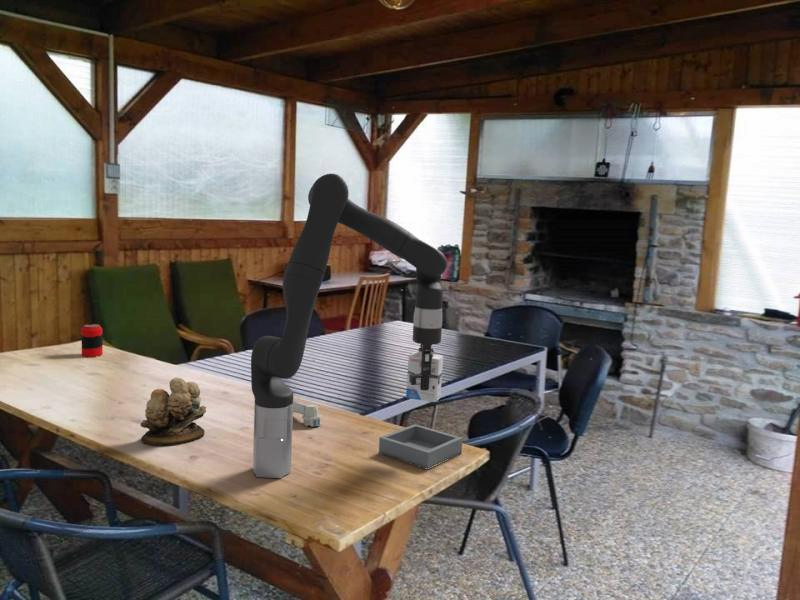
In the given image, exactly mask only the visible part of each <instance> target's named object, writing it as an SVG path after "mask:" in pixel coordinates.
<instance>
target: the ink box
mask: <svg viewBox="0 0 800 600" xmlns="http://www.w3.org/2000/svg"><path fill="white" fill-rule="evenodd" d="M419 359H420V357H419V354H418V351H414V352H411V353H410V354H409V355H408V359H407V360H408V363H407V365H408V366H407V378H406V394H405V398H406V399H412V400H417V401H418V400H419V401H425V402H433V403H436V402H438V401H439V399H441V393H442V380H443V369H444V368H443V365H444V355H442V354H435V353H434V356H433V358H432V367H431V376H430V377H429V389H428V390H421V389H420V383H421V375H420V373H421V368H420V367H419ZM421 363H422V360H421ZM423 371H428V367H424V368H423Z"/></svg>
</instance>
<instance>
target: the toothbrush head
mask: <svg viewBox="0 0 800 600" xmlns="http://www.w3.org/2000/svg"><path fill="white" fill-rule="evenodd" d="M293 413H295V414H299V415H302V416H301V419H302V420H303V426H304V425H305V426H304V427H309V426H310V427H319V426H321V419H322V415H321V414H319V407H318V405H316V404H306V403H304V402H300V401H298V400H295V399H293Z"/></svg>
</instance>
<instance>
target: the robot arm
mask: <svg viewBox="0 0 800 600" xmlns="http://www.w3.org/2000/svg"><path fill="white" fill-rule="evenodd" d="M349 195H350V193H349V186H348V185H347V182H346V181H345V179H344V178H343V177H342V176H340V175H339V174H337V173H326V174H323V175H321V176H319V177H318V178H317V179H316V180H315V181H314V183H313V184H312V186H311V187H310V189H309V192H308V195H307V199H308V200H307V201H308V204H309V209H308V214H307V218H306V221H305V223H304V226H303V228H302V230H301V233H300V235H299V237H298V239H297V241H296V243H295V244H294V247H293V249H292V252H291V253H290V257H289V259H288V262H287V264H286V269H285V271H284V274H283V278H282V293H283V299H284V303H285V309H286V320H285V325H284V329H283V332H282V333H283V334H282V336H281V337H277V336H272V335H264V336H261V337H259V338H258V339H257V341H256V342H255V344H254V345H253V347H252V351H251V356H250V377H251V392H252V394H253V397H254V407H253V408H254V411H253V412H254V414H253V415H254V416H253V449H252V450H253V451H252V457H253V458H252V473H253V474H255V477H256V478H270V479H271V478H272V479H283V477H284V476H287V475H289V474H290V473H291V472H292V451H293V450H292V447H293V423H294V422H293V417H294V412H293V400H294V392H293V390H292V389H291V388H290V387H288V386H287V384H285V382H284V380H288V379H292V378H293V377H294V376H295V375H296V374H297V372H298V371H299V369H300V367H301V364H302V361H303V357H304V354H305V348H306V343H307V339H308V335H309V328H310V323H311V320H312V316H313V313H314V308H315V305H316V301H317V298H318V295H319V292H320V289H321V287H322V284H323V279H324V278H325V273H326V268H327V266H328V260H329V257H330V254H331V249H332V244H333V237H334V234H335V232H336V231H335V230H336V228H337V226H338V223H340V225H343V226H346V227H347V228H349V229H351V230H353V231H355V232H357V233H359V234H361V235H362V236H364V237H366V238H367V239H369V240H370V241H372V242H374V243H376V244H377V245H378V246H380V247H381V248H383V249H385V250H386V251H388V252H390V253H391V254H393V255H395V256H396V257H397V258H400V259H402V260H404V261H406V262H407V263H408V264H410V265H411V266H413V267H414V268H415V277H416V278H415V279H416V293H415V306H414V307H415V308H414V312H413V324H412V325H413V326H412V342H414V343H416V344H418V345H419V344H420V345H419V347H418V349H417V352H418V354H419V357H420V359H419V367H420V368H421V373H420V375H421V383H420V389H421V390H428V389H429V377H430V376H431V367H432V358H433V356H434V354H435V351H434V348H432V345H439V344H440V343H442V342H441V341H442V333H443V332H442V329H443V300H444V299H443V298H444V293H443V287H442V284H441V283H442V275H443V274H444V273H445V271H446V269H447V266H448V260H447V257H446V256H445V254H444V253H443V252H442V251H440V250H439V249H437V248H436V247H434V246H432V245H430V244H428V243H426V241H423V240H422V239H419V238H418V237H417V236H415V235H414V234H413V233H411V232H410V231H408V230H407V229H406V228H404V227H402V226H401V225H399V224H398V223H397V222H394V221H392V220H391V219H388V218H387V217H384V216H381V215H379V214H377V213H373V212H371V211H369V210H366V209H365V208H363V207H361V206H360V205H358V204H356V203H355V202H354V201H352V200H351V199H349ZM421 360H422V363H421ZM424 367H428V371H423V368H424ZM283 379H284V380H283Z"/></svg>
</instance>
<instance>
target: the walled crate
mask: <svg viewBox="0 0 800 600" xmlns="http://www.w3.org/2000/svg"><path fill="white" fill-rule="evenodd" d="M462 453H463V437H461V436H457V435H454V434H450V433H446V432H443V431H440V430H436V429H433V428H429V427H428V426H427V427H426V426H422V425H419V424H412V425H409V426H407V427H404V428H402V429H401V428H400V429H397V430H396V431H393V432H391V433H387V434H384V435H382V436H379V444H378V454H379V455H382V456H385V457H388V458H391V459H394V458H395V459H394V460H397V459H398V460H397V461H400V460H402V461H401V462H403V461H404V462H403V463H406V462H407V463H406V464H408V463H411V464H413V465H412V466H414V465H416V466H415V467H417V466H420V467H423V468H427V469H428V468H430V467H432V466H434V465H436V464H439V463H441V462H443V461H445V460H447V459H450V458H452V457H454V458H456V457H458V456H460V455H462ZM459 454H460V455H459ZM457 455H458V456H457ZM455 456H456V457H455ZM452 459H453V458H452ZM450 460H451V459H450ZM447 461H448V460H447ZM445 462H446V461H445ZM443 463H444V462H443ZM411 464H410V465H411ZM441 464H442V463H441ZM439 465H440V464H439ZM420 467H419V468H420ZM423 468H422V469H423ZM428 470H429V469H428Z"/></svg>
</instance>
